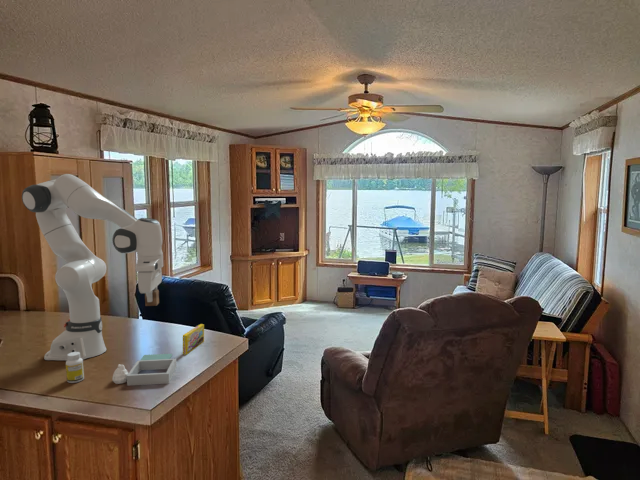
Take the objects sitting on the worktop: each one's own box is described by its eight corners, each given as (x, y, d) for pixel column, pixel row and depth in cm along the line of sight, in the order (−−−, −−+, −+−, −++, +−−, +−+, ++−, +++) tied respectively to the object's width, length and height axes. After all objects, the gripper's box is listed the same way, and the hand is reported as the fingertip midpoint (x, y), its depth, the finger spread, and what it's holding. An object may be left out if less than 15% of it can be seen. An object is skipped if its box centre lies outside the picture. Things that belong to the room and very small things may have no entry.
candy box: (187, 355, 186) (186, 335, 185) (182, 354, 187) (181, 335, 186) (204, 342, 202) (204, 323, 201) (200, 341, 202) (199, 323, 201)
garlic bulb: (131, 361, 163) (124, 367, 158) (132, 377, 164) (125, 384, 159) (115, 361, 163) (108, 368, 158) (116, 377, 164) (109, 384, 159)
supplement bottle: (71, 377, 165) (69, 351, 163) (86, 376, 165) (85, 350, 164) (64, 383, 159) (62, 356, 158) (80, 383, 160) (78, 356, 158)
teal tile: (136, 367, 173) (136, 365, 173) (144, 356, 184) (144, 354, 184) (166, 366, 175) (166, 364, 175) (172, 355, 185) (172, 353, 185)
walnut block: (145, 305, 166) (144, 292, 165) (148, 303, 170) (147, 290, 169) (156, 305, 167) (156, 292, 166) (159, 302, 170) (158, 289, 170)
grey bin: (127, 385, 158) (126, 375, 157) (138, 369, 171) (137, 360, 171) (169, 383, 159) (168, 373, 159) (176, 367, 173) (176, 358, 173)
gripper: (148, 258, 176) (149, 293, 178) (133, 267, 156) (135, 307, 158) (165, 258, 177) (166, 293, 179) (153, 267, 157) (154, 306, 159)
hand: (152, 299), depth 168 cm, fingers closed on walnut block, 4 cm apart
